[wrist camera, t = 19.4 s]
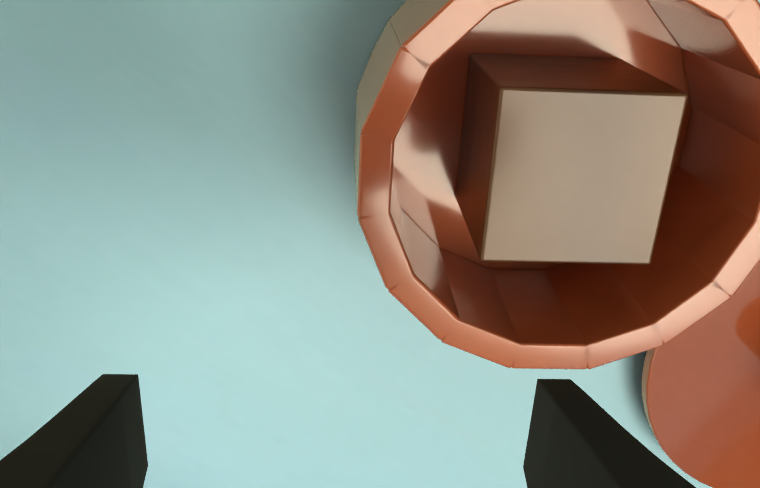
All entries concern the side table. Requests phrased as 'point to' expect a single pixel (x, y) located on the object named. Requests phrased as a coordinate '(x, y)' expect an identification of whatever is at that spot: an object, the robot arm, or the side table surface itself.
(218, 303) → the side table surface
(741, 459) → the lid
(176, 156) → the side table surface
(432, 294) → the cup
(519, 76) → the block
